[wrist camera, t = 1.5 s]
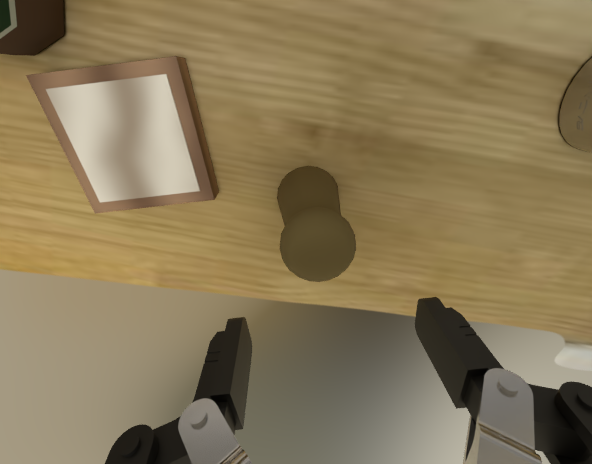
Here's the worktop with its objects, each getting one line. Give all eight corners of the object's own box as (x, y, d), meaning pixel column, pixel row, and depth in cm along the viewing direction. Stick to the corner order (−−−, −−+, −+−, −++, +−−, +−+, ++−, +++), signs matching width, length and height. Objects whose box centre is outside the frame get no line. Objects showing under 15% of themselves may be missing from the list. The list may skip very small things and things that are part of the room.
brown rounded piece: (265, 204, 27) (254, 270, 18) (300, 153, 25) (309, 197, 16) (314, 233, 29) (328, 308, 20) (351, 188, 27) (387, 247, 17)
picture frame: (185, 58, 21) (175, 56, 20) (219, 192, 27) (213, 200, 25) (47, 75, 22) (24, 75, 20) (107, 204, 27) (93, 213, 25)
